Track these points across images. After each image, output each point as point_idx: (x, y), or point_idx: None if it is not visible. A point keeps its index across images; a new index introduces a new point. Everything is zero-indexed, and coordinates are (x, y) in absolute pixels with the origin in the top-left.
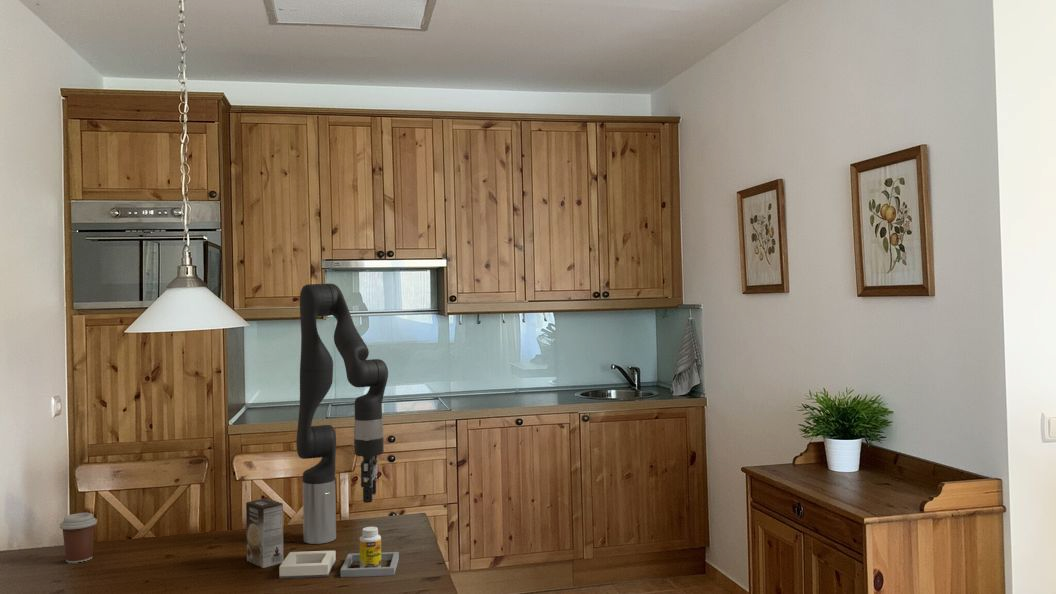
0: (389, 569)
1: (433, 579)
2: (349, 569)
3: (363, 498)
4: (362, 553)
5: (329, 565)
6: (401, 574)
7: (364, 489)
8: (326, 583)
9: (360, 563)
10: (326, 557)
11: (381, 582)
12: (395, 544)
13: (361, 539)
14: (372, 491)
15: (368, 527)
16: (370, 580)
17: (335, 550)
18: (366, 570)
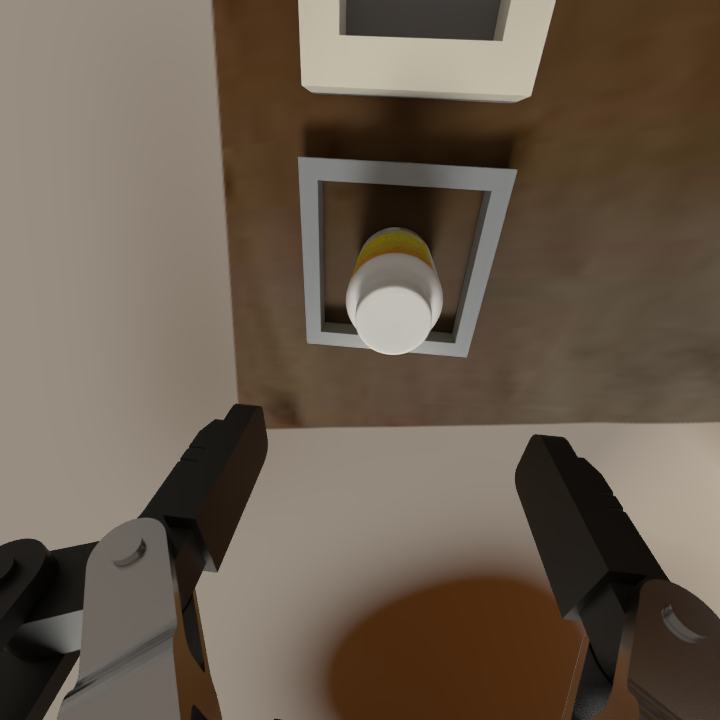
0: (307, 329)
1: (277, 412)
2: (303, 196)
3: (222, 425)
4: (363, 253)
5: (352, 90)
6: (318, 350)
7: (140, 517)
8: (239, 100)
9: (377, 234)
10: (422, 55)
11: (255, 300)
12: (630, 337)
13: (363, 267)
14: (530, 481)
15: (416, 314)
16: (272, 268)
17: (529, 95)
18: (303, 260)
